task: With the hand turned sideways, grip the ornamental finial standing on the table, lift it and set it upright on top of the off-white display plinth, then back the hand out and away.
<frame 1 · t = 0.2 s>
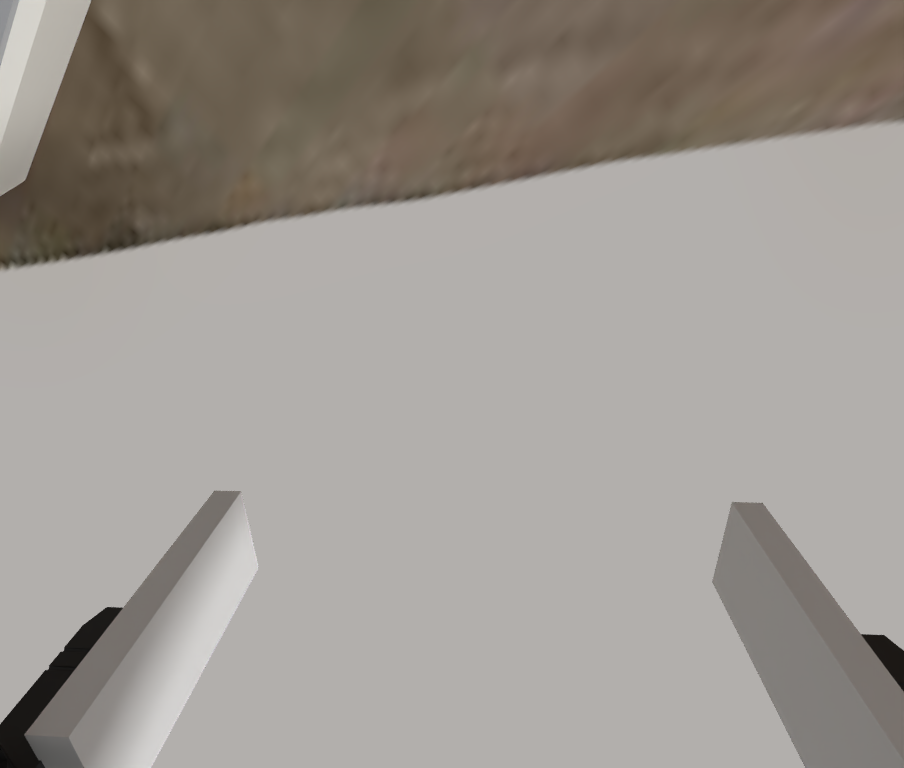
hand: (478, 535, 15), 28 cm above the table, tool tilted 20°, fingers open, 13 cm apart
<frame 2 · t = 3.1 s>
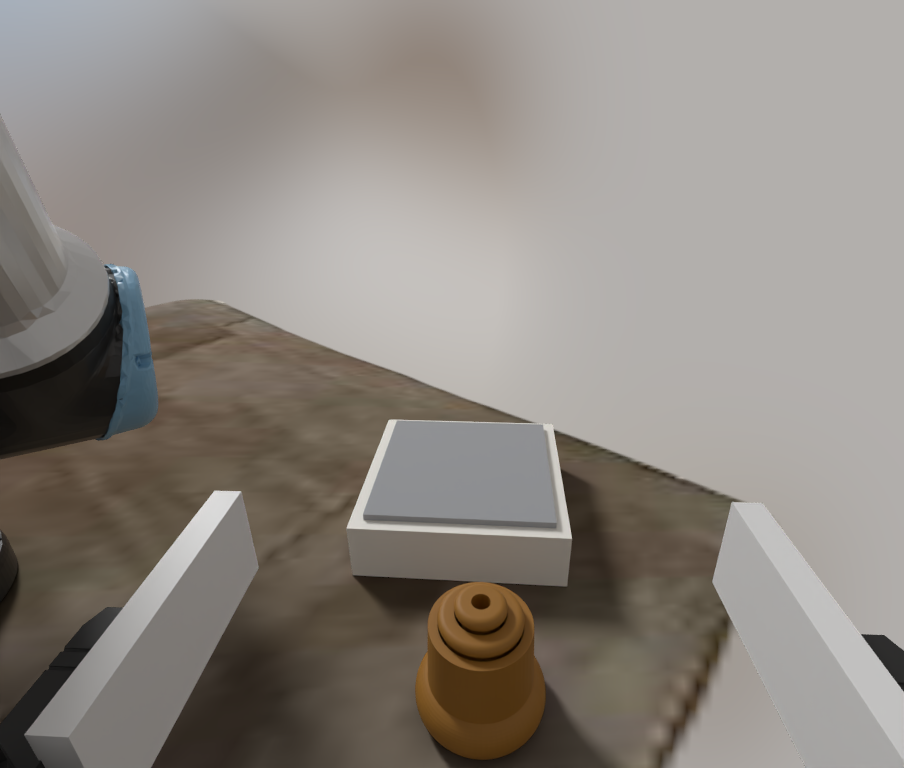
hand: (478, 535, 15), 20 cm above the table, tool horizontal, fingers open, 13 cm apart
display plinth: (464, 511, 47), on the table
ornamental finial: (479, 702, 31), on the table
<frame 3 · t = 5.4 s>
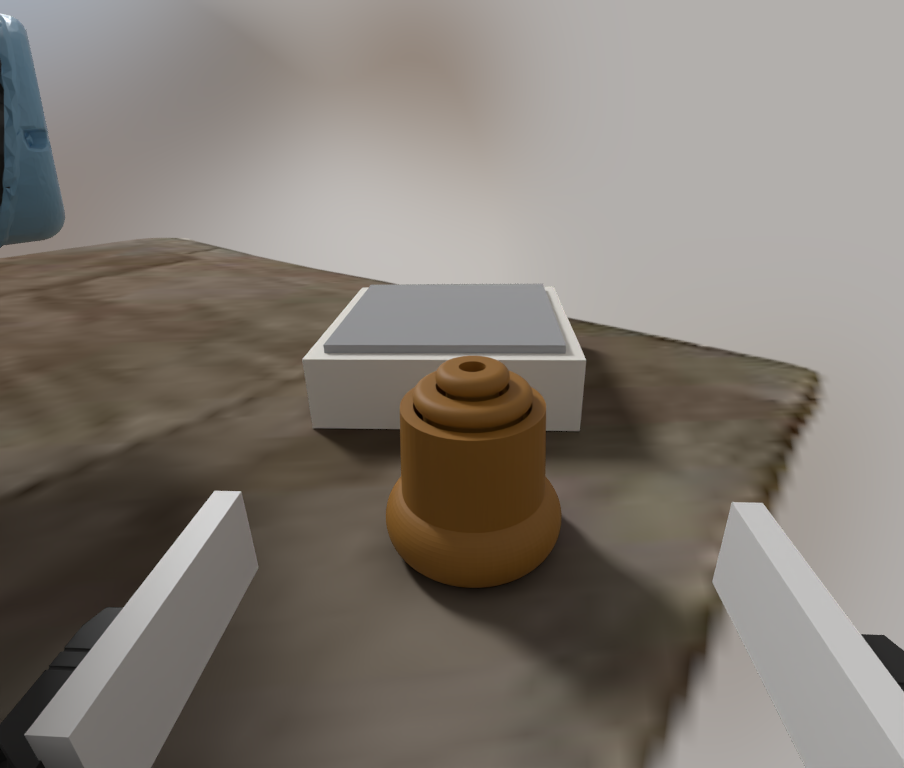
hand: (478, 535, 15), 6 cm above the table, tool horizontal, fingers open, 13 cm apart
display plinth: (452, 375, 39), on the table
ornamental finial: (473, 536, 23), on the table
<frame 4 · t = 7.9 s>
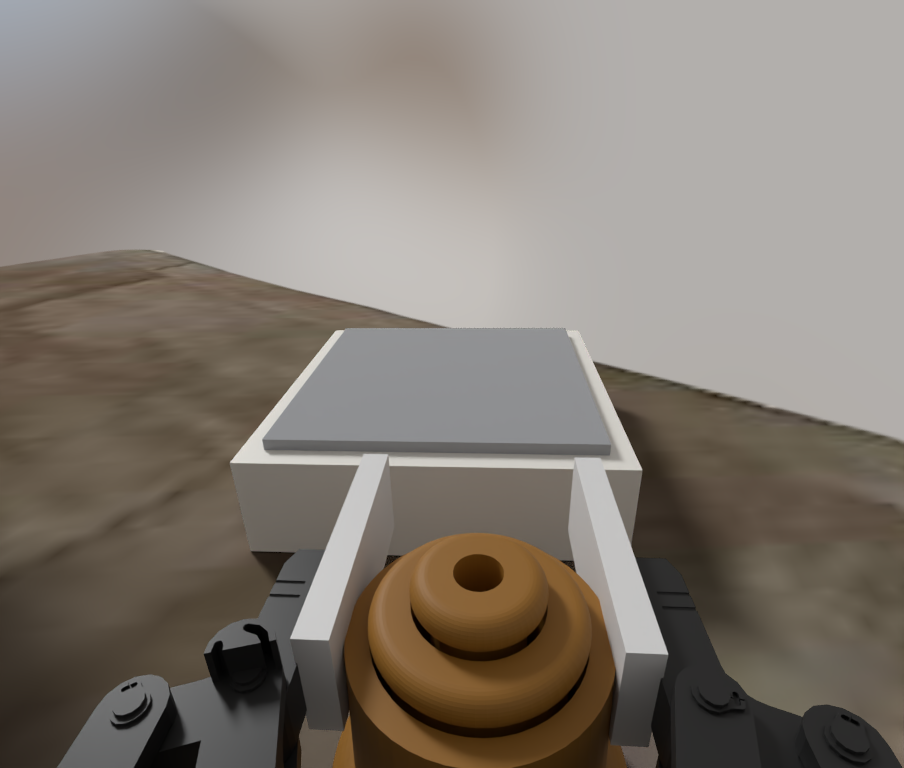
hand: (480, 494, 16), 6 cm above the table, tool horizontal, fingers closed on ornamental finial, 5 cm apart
display plinth: (448, 454, 30), on the table
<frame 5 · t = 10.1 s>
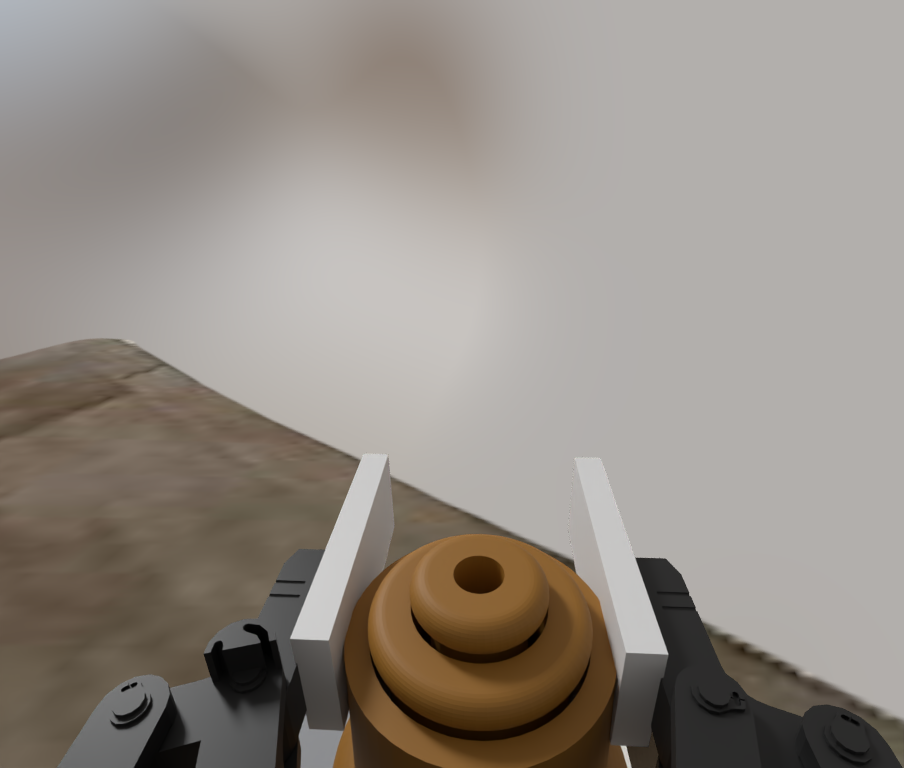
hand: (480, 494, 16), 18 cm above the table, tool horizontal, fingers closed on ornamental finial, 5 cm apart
when the fingers open (12 cm above the table, at t = 12.2 s): ornamental finial drops 1 cm, resting on display plinth.
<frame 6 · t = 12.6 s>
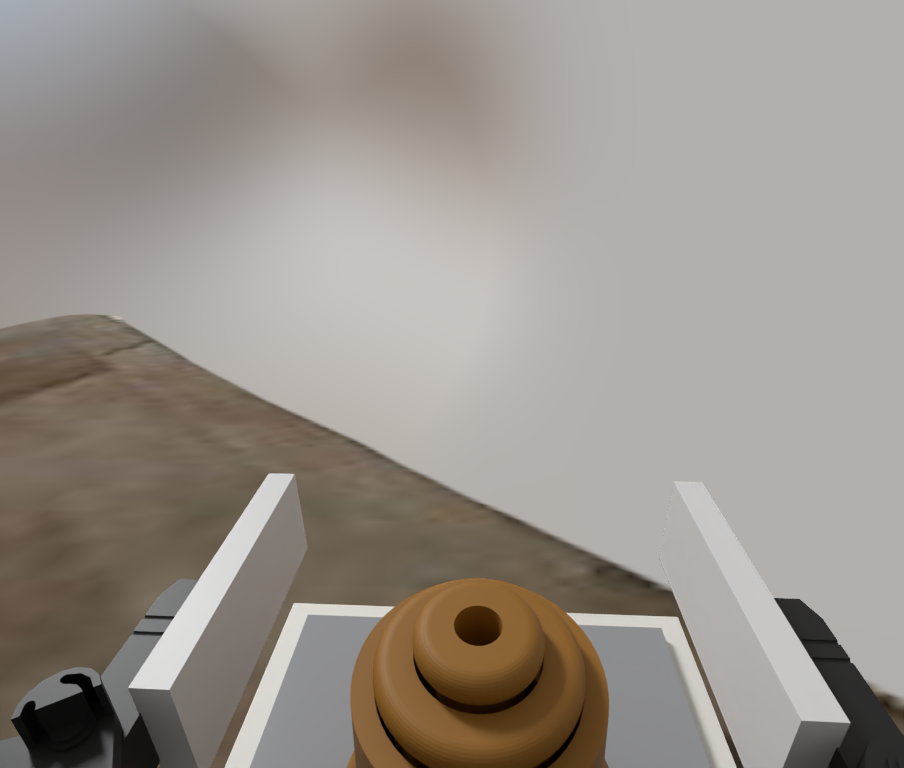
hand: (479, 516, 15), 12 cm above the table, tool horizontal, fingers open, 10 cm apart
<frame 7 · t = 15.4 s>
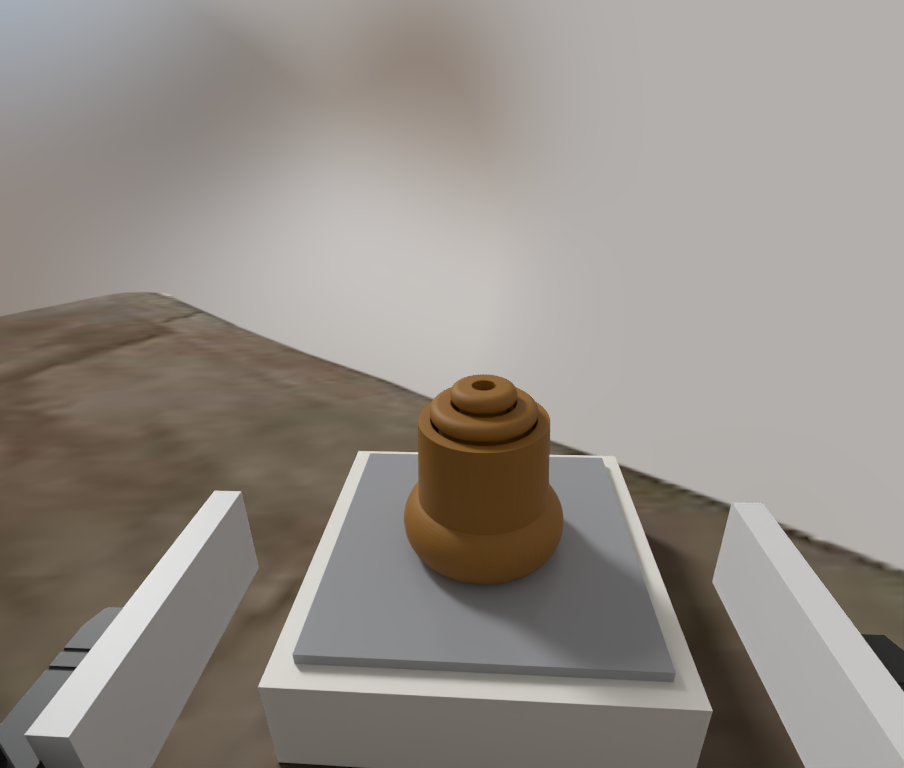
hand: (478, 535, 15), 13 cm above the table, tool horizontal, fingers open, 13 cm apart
display plinth: (482, 608, 28), on the table
ornamental finial: (482, 538, 26), point 5 cm above the table, touching display plinth
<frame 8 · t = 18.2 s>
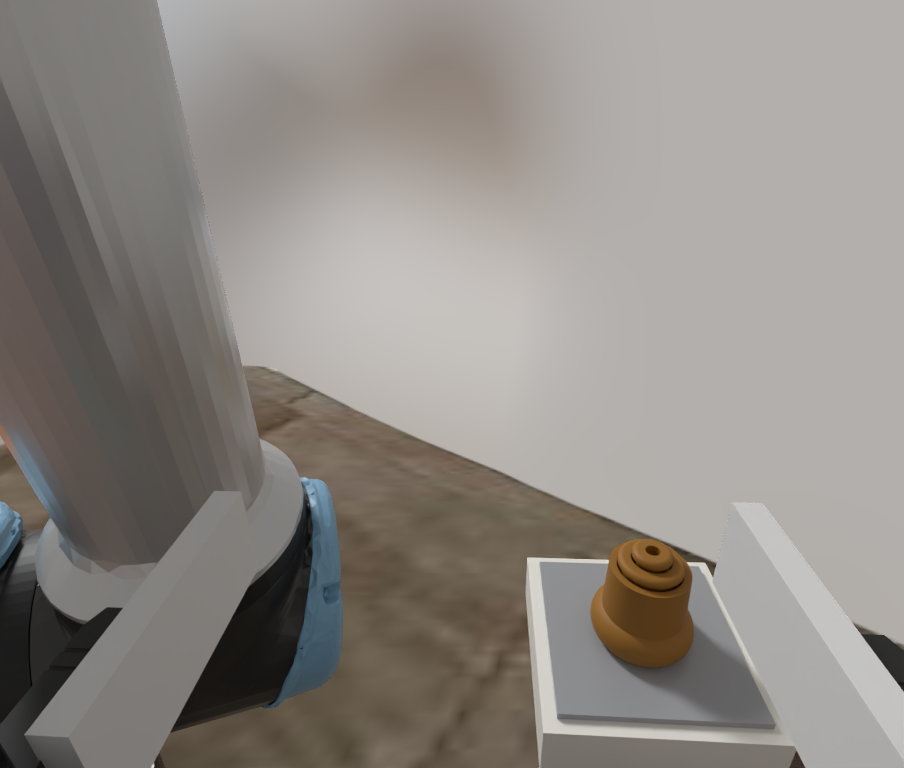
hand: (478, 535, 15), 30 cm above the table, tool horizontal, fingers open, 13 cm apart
display plinth: (630, 673, 43), on the table
ornamental finial: (638, 632, 41), point 5 cm above the table, touching display plinth
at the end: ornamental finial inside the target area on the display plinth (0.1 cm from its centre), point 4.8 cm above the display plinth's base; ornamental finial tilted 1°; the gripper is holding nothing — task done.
